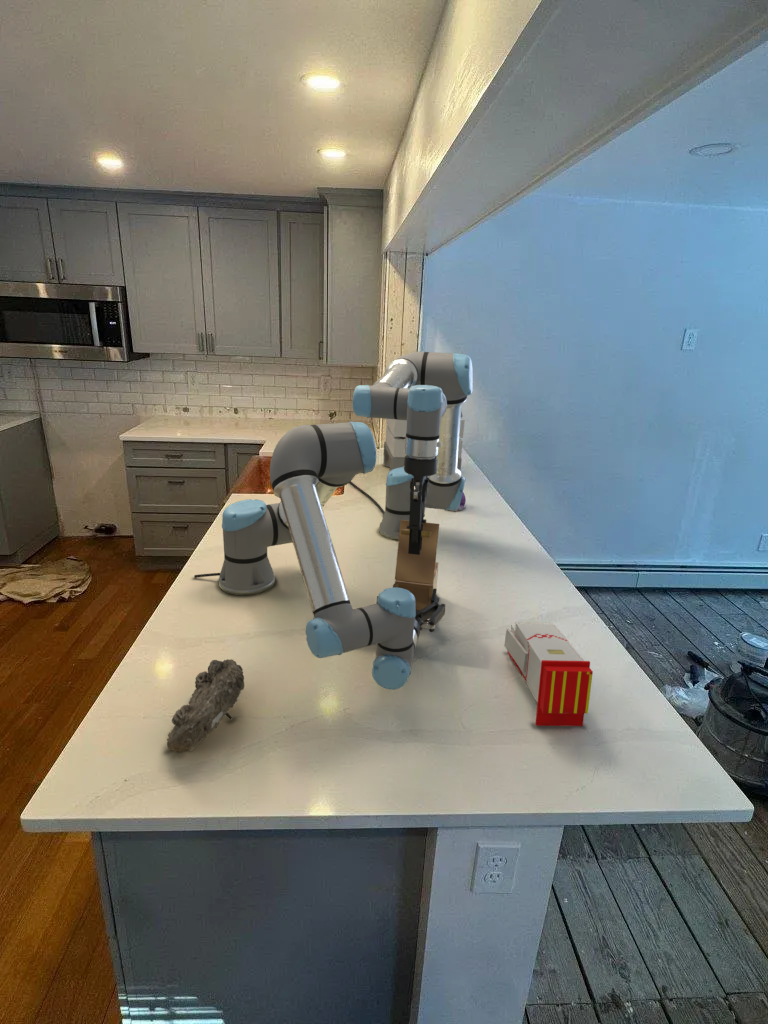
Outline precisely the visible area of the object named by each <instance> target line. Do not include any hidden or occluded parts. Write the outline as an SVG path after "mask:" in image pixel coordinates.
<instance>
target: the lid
mask: <svg viewBox="0 0 768 1024" xmlns="http://www.w3.org/2000/svg"><path fill="white" fill-rule="evenodd" d="M421 524H423V531H421V537H422V548H421V550H420V555H416V554H408V549H409V533H410V529H407V525H408V526H409V521H407V520H401V521H400V531H399V540H398V543H397V554H396V562H395V573H394V580H402V581H410V582H419V583H427V584H433V583H434V573H435V563H436V562H437V555H438V554H437V553H438V541H439V535H440V534H439V532H440V523H436V522H435V523H434V522H426V523H421Z"/></svg>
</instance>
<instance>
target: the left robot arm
mask: <svg viewBox="0 0 768 1024" xmlns="http://www.w3.org/2000/svg"><path fill="white" fill-rule="evenodd" d="M376 463H377V445H376V441H375V438H374V434H373V432H372V430H371V428H370V427H369V426H368V425H367V424H366V423H364V422H362V421H348V422H347V421H346V422H335V423H319V424H317V423H315V424H302V425H298V426H294V427H292V428H290V429H289V430H288V431H286V432H285V433H284V435H282V437H281V438H280V439H279V440H278V441H277V444H275V447H274V449H273V452H272V455H271V458H270V463H269V480H270V485H271V488H272V492H273V494H274V496H275V497H277V498H279V499H280V501H279V502H278V503H277V502H276V503H268V504H266V502H265V501H263V500H261V499H243V500H239V501H235V502H233V503H231V504H229V505H228V506H227V507H226V508H225V509H224V510H223V511H222V515H221V516H222V520H221V521H222V522H221V528H222V541H223V542H222V543H223V556H224V558H223V559H224V560H223V563H222V566H221V569H220V572H212V573H203V574H202V573H199V574H194V576H193V577H194V578H204V577H217V576H218V586H219V588H220V589H221V590H222V591H223V592H224V593H227V594H230V595H235V596H252V595H257V594H260V593H265V592H266V591H268V590H269V589H271V588H272V587H273V586H274V585H275V581H276V579H275V577H276V576H275V572H274V570H273V567H272V564H271V562H270V559H269V557H268V548H269V547H275V546H281V545H287V544H293V548H294V551H295V556H296V558H297V562H298V566H299V569H300V572H301V577H302V580H303V584H304V586H305V590H306V593H307V594H306V595H307V598H308V600H309V604H310V608H311V611H312V614H313V618H312V619H309V620H308V621H307V623H306V625H305V635H306V637H305V639H306V643H307V647H308V649H309V650H310V653H311V654H312V655H313V656H314V657H316V658H318V659H324V658H328V657H329V658H330V657H333V656H342V655H343V654H345V653H348V652H353V651H355V650H359V649H362V648H367V647H370V646H374V645H376V648H375V658H374V660H373V662H372V668H371V677H372V679H373V681H374V682H375V683H376V684H377V685H378V686H380V687H381V688H382V689H385V690H391V691H393V690H399V689H401V688H403V687H404V686H405V685H406V684H407V682H408V679H409V677H410V675H411V674H412V670H411V669H412V665H413V660H414V656H415V653H416V648H417V645H418V640H419V637H420V633H421V631H423V629H428V631H429V632H430V633H434V632H435V628H436V626H437V625H438V623H439V622H440V621H441V619H443V617H444V616H445V614H446V603H441V604H440V597H437V591H438V590H437V589H434V590H433V595H432V598H431V604H430V605H428V606H427V607H425V608H423V609H422V610H417V611H416V604H415V597H414V595H413V594H412V593H410V592H409V591H408V590H406V589H403V588H397V587H395V583H393V585H392V587H387V588H385V589H383V590H382V591H380V592H379V593H378V595H377V596H376V603H375V604H370V605H366V606H362V607H358V608H353V607H352V604H351V600H350V597H349V595H348V590H347V587H346V584H345V580H344V577H343V574H342V571H341V567H340V564H339V560H338V558H337V557H338V556H337V553H336V550H335V546H334V543H333V540H332V537H331V533H330V530H329V527H328V525H327V521H326V517H325V514H324V510H323V508H324V506H325V505H326V503H327V502H328V501H329V500H330V498H332V496H333V494H334V493H335V492H336V490H337V489H338V488H342V487H345V486H347V485H348V484H350V483H349V482H350V481H351V482H352V480H353V479H354V478H355V477H356V476H357V475H359V474H363V475H366V474H369V473H371V472H372V471H374V469H375V467H376ZM429 617H430V619H428V618H429ZM426 619H428V621H427V620H426Z"/></svg>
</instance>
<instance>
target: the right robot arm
mask: <svg viewBox="0 0 768 1024" xmlns="http://www.w3.org/2000/svg"><path fill="white" fill-rule="evenodd" d="M384 371H385V372H384V373H383V374H382V375H381V376H380V377H379V378H378V379H377V380H376V381H375V382H374V383H372V385H370V384H360V385H357V386H355V388H354V390H353V394H352V411H353V413H354V415H355V416H357V417H363V418H367V419H369V418H372V419H385V420H386V419H397V420H407V430H406V437H405V454H406V456H405V459H404V467H400V468H396V469H393V470H391V471H390V470H389V472H388V473H387V475H386V482H385V504H384V505H385V507H384V508H385V509H383V507H382V506H381V505H380V504H379V503H378V501H376V500H375V498H373V497H372V496H371V495H370V494H369V493H367V492H366V491H365V490H363V489H362V488H360V487H359V486H358V485H356V484H355V483H354V482H352V480H351V481H350V482H349V483H348V484H350V485H351V486H353V487H354V488H355V489H357V490H358V491H359V492H360V493H362V494H363V495H365V496H366V497H367V498H368V499H369V500H371V502H373V503H374V505H375V506H377V508H378V509H379V510H380V512H381V513H382V514H383V515H382V519H381V522H379V527H378V533H379V534H380V535H381V536H382V537H385V538H387V539H389V540H395V541H399V531H400V521H401V520H407V521H409V526H408V525H407V529H410V533H409V549H408V554H416V555H420V550H421V548H422V537H421V531H423V524H421V523H427V519H424V518H425V517H426V514H425V511H426V509H435V510H444V511H451V510H457V509H458V508H459V506H460V502H461V498H462V493H464V488H465V483H466V478H465V477H463V476H462V471H461V472H460V470H459V469H458V468H457V462H458V448H459V433H460V418H462V417H461V412H462V405H463V404H464V403H466V401H467V399H468V396H470V395H471V396H472V394H473V389H474V388H473V387H474V386H473V385H474V383H473V381H474V375H473V373H474V371H473V361H472V359H471V357H470V356H469V355H468V354H462V353H457V352H453V353H452V352H436V351H433V352H432V351H414V352H409V353H405V354H403V355H401V356H398V357H396V358H394V359H393V360H391V361H390V362H389V364H387V366H386V368H385V370H384ZM457 511H458V510H457Z"/></svg>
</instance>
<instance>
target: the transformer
mask: <svg viewBox="0 0 768 1024" xmlns="http://www.w3.org/2000/svg"><path fill="white" fill-rule="evenodd" d="M385 423H386V428H385V438H384V442H383V466H384V467H388V468H389V472H390V471H391V470H393V469H396V468H400V467H404V459H405V456H406V454H405V437H406V430H407V420H397V419H385ZM464 429H465V419H464V418H463V411H461V418H460V433H459V448H458V462H457V468H458V469H459V470H460V471H461V472H462V461H463V460H462V453H463V442H464V441H463V440H462V439H463V438H464V431H465V430H464Z"/></svg>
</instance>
